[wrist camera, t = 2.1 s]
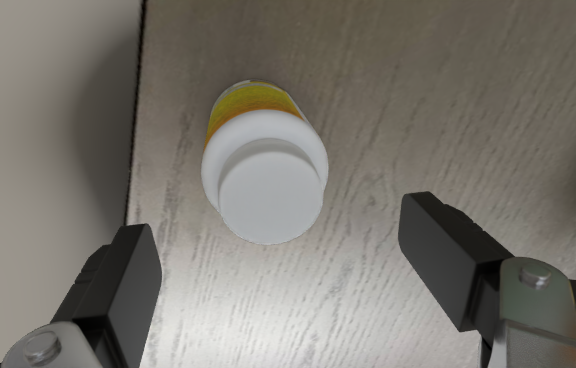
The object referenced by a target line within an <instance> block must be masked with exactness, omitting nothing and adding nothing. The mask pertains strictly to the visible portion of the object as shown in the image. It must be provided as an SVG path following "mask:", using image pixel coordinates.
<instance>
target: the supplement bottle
mask: <svg viewBox="0 0 576 368" xmlns="http://www.w3.org/2000/svg"><path fill="white" fill-rule="evenodd" d="M328 172H329V165H328V157H327V153H326V150H325V147H324V145H323V143H322V141H321V139H320V137H319V135H318V134H317V132H316V131H315V130H314V128H313V127H312V126H311V124H310V123H309V121H308V120H307V118H306V117H305V116H304V114H303V113H302V111H301V110H300V109H299V107H298V106H297V105H296V103H295V102H294V100H293V99H292V98H291V96H290V95H289V94H288V93H287V92H286V91H284V90H283V89H282V88H281V87H279V86H277V85H275V84H273V83H271V82H268V81H263V80H246V81H242V82H239V83H236V84H234V85H232V86H231V87H229V88H228V89H226V90H225V91H224V92H223V93H222V94H221V95H220V96H219V98H218V99H217V100H216V102H215V104H214V106H213V108H212V111H211V114H210V119H209V125H208V130H207V135H206V140H205V146H204V151H203V157H202V162H201V180H202V185H203V188H204V191H205V194H206V196H207V198H208V200H209V201H210V203H211V204H212V205H213V207H214V208H215V209H216V210H217V211H218V212H219V213H220V214H221V217H222V219H223V221H224V222H225V224H226V225H227V227H228V228H229V229H230V230H231V231H232V232H233V233H234V234H235V235H237V236H238V237H240V238H242V239H244V240H246V241H248V242H251V243H255V244H261V245H275V244H281V243H285V242H288V241H290V240H293V239H295V238H297V237H299V236H300V235H302V234H303V233H304V232H306V231H307V230H308V229H309V228H310V227H311V226H312V225H313V223H314V222H315V221H316V219H317V217H318V216H319V213H320V211H321V208H322V204H323V192H324V189H325V187H326V183H327V179H328Z"/></svg>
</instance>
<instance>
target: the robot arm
mask: <svg viewBox="0 0 576 368" xmlns="http://www.w3.org/2000/svg"><path fill="white" fill-rule="evenodd" d="M398 240H399V245H400V248H401V251H402V253H403V254H404V255H405V257H406V258H407V260H408V261H409V262H410V264H411V265H412V267H413V268H414V269H415V271H416V272H417V274H418V275H419V276H420V278H421V279H422V281H423V282H424V283H425V285H426V286H427V288H428V289H429V290H430V292H431V293H432V295H433V296H434V297H435V299H436V300H437V302H438V303H439V304H440V306H441V307H442V309H443V310H444V311H445V313H446V314H447V316H448V317H449V318H450V320H451V321H452V323H453V324H454V325H455V327H456V328H457V330H458V331H459V332H465V331H471V330H478V332H479V333H480V334H481V337H480V341H479V346H478V359H477V368H576V280H571V279H568V278H567V277H566V276H565V275H564V274H563V273H562V272H561V271H560V270H558V269H557V268H555V267H553V266H551V265H550V264H547V263H545V262H542V261H540V260H536V259H533V258H527V257H515V256H514V255H513V254H511V253H510V252H509V251H508V250H507V249H505V248H504V247H503V246H502V245H501V244H500V243H498V242H497V241H496V240H495V239H494V238H493V237H491V236H490V235H489V234H488V233H487V232H486V231H483V230H482V228H481V227H480V226H479V225H477V224H476V223H473V220H472V219H470V218H469V217H468V216H467V215H466V214H465V213H463V212H462V211H460V210H458V209H456V208H454V207H452V206H449V205H447V204H443V203H442V202H441V201H440V200H439V199H438V198H436V197H435V196H434V195H433V194H432V193H431V192H429V191H426V192H417V193H409V194H405V195H404V196H403V198H402V204H401V213H400V222H399V231H398ZM161 282H162V270H161V264H160V260H159V256H158V252H157V249H156V245H155V241H154V238H153V234H152V230H151V228H150V226H149V224H147V223H146V224H137V225H129V226H121V227H120V228H119V230H118V232H117V234H116V235H115V237H114V239H113V241H112V243H111V244H110V245H103V246H102V247H100V248H99V249H98V250H97V251H96V252H95V253H93V254H92V255H91V256H90V257H89V258H88V260H87V261H86V263H85V265H84V266H83V268H82V270H81V273H79V275H78V276H77V278H76V280H75V284H73V285H72V287H71V288H70V290H69V292H68V293H67V295H66V297H65V299H64V300H63V302H62V303H61V305H60V307H59V309H58V310H57V312H56V314H55V315H54V317H53V319H52V320H51V322H50V324H47V325H44V326H42V327H40V328H37V329H35V330H34V331H32V332H30V333H28V334H27V335H25V336H24V337H23V338H21V339H20V340H19V341H18V342H16V343H15V344H14V345H13V347H12V348H11V349H10V350H9V351H8V352H7V354H6V356H5V357H4V359H3V361H2V363H0V368H139V366H140V362H141V359H142V355H143V351H144V347H145V343H146V340H147V336H148V332H149V328H150V325H151V321H152V317H153V313H154V310H155V306H156V302H157V298H158V295H159V291H160V287H161Z"/></svg>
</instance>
